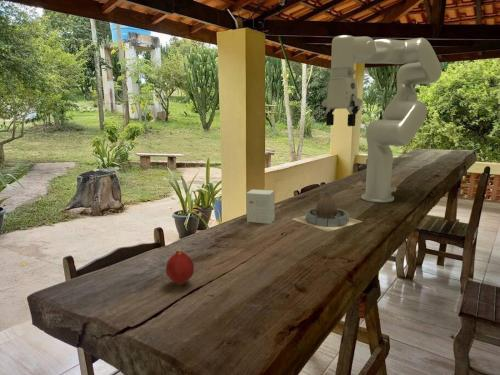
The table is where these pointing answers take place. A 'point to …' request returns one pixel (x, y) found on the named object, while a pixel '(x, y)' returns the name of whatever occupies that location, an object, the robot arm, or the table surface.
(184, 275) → the onion
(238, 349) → the table surface
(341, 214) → the ring collar
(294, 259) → the table surface
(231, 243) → the table surface
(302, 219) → the birch board
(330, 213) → the vase
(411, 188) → the table surface
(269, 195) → the small box
